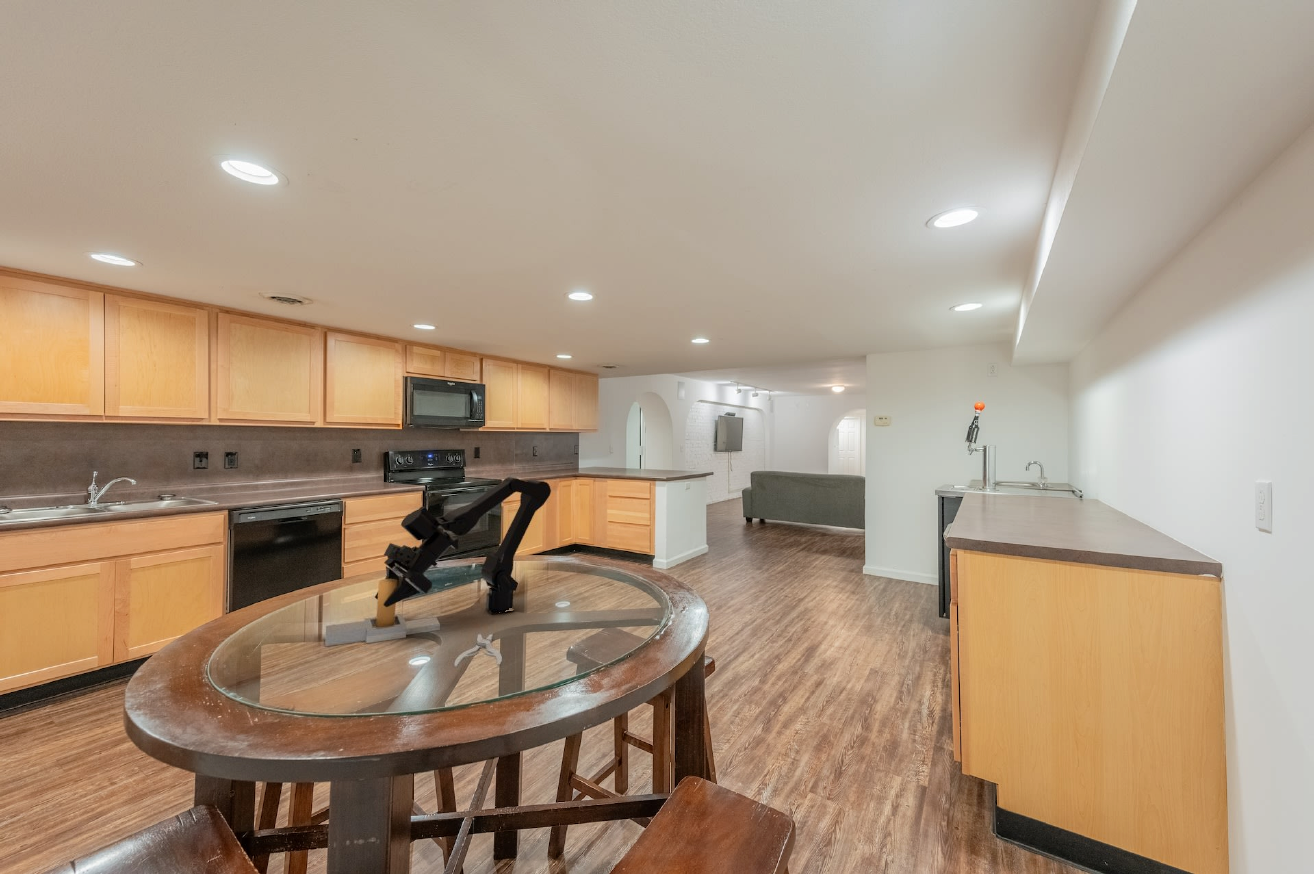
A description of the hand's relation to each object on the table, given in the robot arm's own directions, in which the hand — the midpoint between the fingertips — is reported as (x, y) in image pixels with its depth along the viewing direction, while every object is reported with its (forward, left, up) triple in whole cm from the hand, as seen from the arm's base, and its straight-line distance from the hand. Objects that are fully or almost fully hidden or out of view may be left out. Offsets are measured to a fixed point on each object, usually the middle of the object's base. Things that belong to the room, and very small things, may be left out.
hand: (380, 602), depth 125 cm
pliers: (-19, +19, -9) cm, 29 cm away
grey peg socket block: (-1, 0, -8) cm, 8 cm away
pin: (-1, 0, -8) cm, 8 cm away
